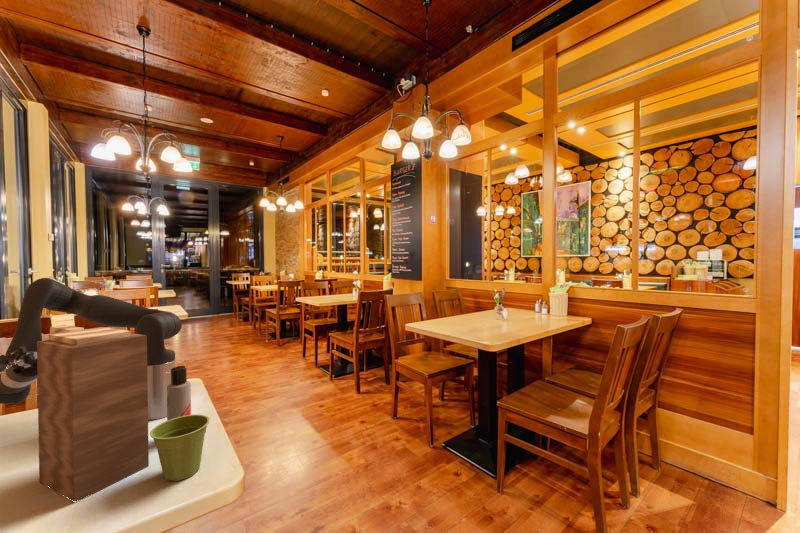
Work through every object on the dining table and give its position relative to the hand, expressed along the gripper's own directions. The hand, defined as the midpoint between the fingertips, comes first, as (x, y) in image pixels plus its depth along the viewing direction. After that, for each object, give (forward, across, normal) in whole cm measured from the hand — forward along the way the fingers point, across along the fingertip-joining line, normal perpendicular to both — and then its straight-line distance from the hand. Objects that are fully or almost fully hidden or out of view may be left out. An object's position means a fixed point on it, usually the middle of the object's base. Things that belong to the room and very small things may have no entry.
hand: (47, 345), depth 90 cm
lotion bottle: (+7, +19, +36) cm, 42 cm away
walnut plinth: (+6, 0, +36) cm, 37 cm away
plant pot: (+22, +9, +45) cm, 51 cm away
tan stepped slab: (+17, 0, +5) cm, 18 cm away
